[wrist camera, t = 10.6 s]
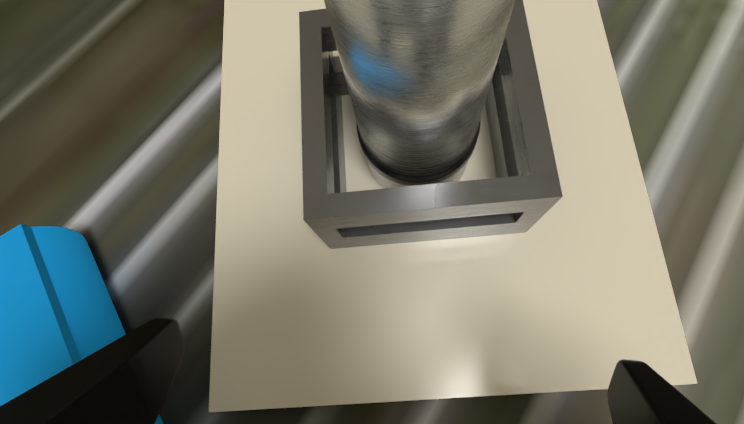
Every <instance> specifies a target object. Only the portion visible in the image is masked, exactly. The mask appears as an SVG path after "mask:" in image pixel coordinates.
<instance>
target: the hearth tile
mask: <svg viewBox="0 0 744 424" xmlns="http://www.w3.org/2000/svg"><path fill="white" fill-rule="evenodd" d="M523 3H524V8H525V13H526V18H527V23H528V28H529V33H530V38H531V43H532V48H533V53H534V58H535V62H536V67H537V72H538V77H539V82H540V87H541V92H542V97H543V102H544V107H545V112H546V117H547V122H548V127H549V131H550V136H551V141H552V146H553V151H554V156H555V161H556V166H557V171H558V176H559V181H560V186H561V191H562V196H563V197H562V198H561V199H560V200H559V201H558V202H557V203H556V204H555V205H554V206H553V207H552V208H551V209H550V210H549V211H547V212H546V213H545V214H544V215H543V216H542V217H541V218H540V219H539V220H538V221H537V222H536V223H535V224H534V225H533V226H532V227H531V228H530V229H529V230H528V231H527V232H526V233H514V234H502V235H491V236H479V237H467V238H455V239H444V240H432V241H420V242H408V243H397V244H385V245H373V246H361V247H350V248H338V249H330V248H329V247H328V246H327V245H326V244H325V243H324V242H323V241H322V239H321V238H320V237H319V236H318V235H317V234H316V233H315V232H314V231H313V230H312V229H311V228H310V227H309V226H308V224H307V223H306V222H305V221H304V220H303V175H302V128H301V81H300V34H299V12H302V11H310V10H318V9H326V6H325V2H324V0H225V5H224V31H223V57H222V83H221V108H220V134H219V160H218V186H217V211H216V237H215V263H214V289H213V315H212V340H211V366H210V392H209V412H224V411H241V410H258V409H275V408H292V407H309V406H326V405H343V404H360V403H377V402H394V401H411V400H428V399H445V398H462V397H479V396H496V395H513V394H530V393H547V392H564V391H581V390H598V389H608V387H609V384H610V381H611V378H612V375H613V372H614V369H615V367H616V364H617V362H618V361H619V360H622V359H626V360H637V361H642V362H644V363H646V364H647V365H649V366H650V367H651V368H652V369H653V370H655V371H656V372H657V373H658V374H659V375H660V376H661V377H663V378H664V379H665V380H666V381H667V382H668V383H670V384H671V385H683V384H697V380H696V377H695V373H694V369H693V365H692V361H691V358H690V354H689V350H688V346H687V342H686V339H685V335H684V331H683V327H682V323H681V320H680V316H679V312H678V308H677V304H676V300H675V297H674V293H673V289H672V285H671V281H670V278H669V274H668V270H667V266H666V262H665V259H664V255H663V251H662V247H661V243H660V240H659V236H658V232H657V228H656V224H655V221H654V217H653V213H652V209H651V205H650V201H649V198H648V194H647V190H646V186H645V182H644V179H643V175H642V171H641V167H640V163H639V160H638V156H637V152H636V148H635V144H634V141H633V137H632V133H631V129H630V125H629V122H628V118H627V114H626V110H625V106H624V102H623V99H622V95H621V91H620V87H619V83H618V80H617V76H616V72H615V68H614V64H613V61H612V57H611V53H610V49H609V45H608V42H607V38H606V34H605V30H604V26H603V22H602V19H601V15H600V11H599V7H598V3H597V0H523ZM333 55H334V56H339V54H338V51H333ZM342 112H343V132H344V151H345V170H346V189H347V192H353V191H363V190H374V189H383V188H382V187H381V186H380V185H379V184H378V183H377V181H376V180H375V179H374V177H373V175H372V173H371V171H370V168H369V165H368V161H367V159H366V157H365V156H364V154H363V151H362V149H361V145H360V142H359V138H358V134H357V125H356V124H357V121H356V117H355V113H354V109H353V106H352V102H351V98H350V95H342ZM490 178H497V176H496V169H495V163H494V157H493V150H492V144H491V138H490V131H489V125H488V119H487V113H486V106H485V105H484V109H483V112H482V115H481V119H480V132H479V135H478V139H477V142H476V146H475V149H474V151H473V153H472V155H471V157H470V158H469V160H468V163H467V167H466V169H465V172H464V174H463V176H462V177H461V179H460V180H459V181H469V180H480V179H490Z"/></svg>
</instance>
